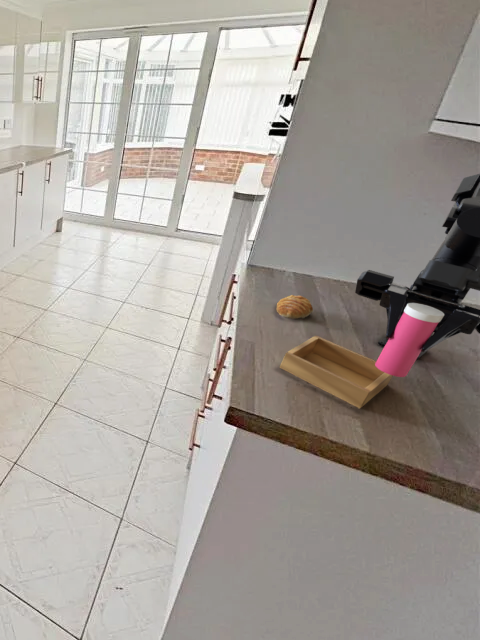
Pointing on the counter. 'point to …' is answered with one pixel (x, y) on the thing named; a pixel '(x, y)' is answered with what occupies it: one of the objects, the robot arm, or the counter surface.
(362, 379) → the wooden tray
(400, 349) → the candy tube
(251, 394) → the counter surface
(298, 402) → the counter surface
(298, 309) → the pastry
